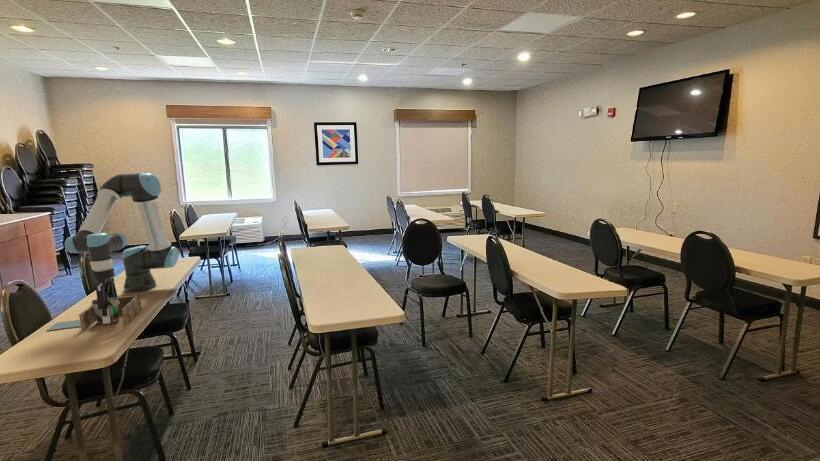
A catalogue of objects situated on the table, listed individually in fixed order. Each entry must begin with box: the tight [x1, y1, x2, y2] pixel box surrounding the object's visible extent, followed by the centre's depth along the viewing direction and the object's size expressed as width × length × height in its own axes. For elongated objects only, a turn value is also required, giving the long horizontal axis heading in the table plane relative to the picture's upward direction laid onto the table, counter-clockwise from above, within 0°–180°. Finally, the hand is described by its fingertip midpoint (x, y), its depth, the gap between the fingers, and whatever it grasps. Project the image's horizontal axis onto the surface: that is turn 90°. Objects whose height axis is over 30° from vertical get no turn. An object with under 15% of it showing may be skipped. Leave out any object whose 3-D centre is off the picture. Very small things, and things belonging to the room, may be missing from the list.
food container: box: [91, 297, 120, 325], centre depth 180 cm, size 12×6×10 cm, turn 74°
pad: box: [45, 319, 81, 332], centre depth 178 cm, size 9×14×1 cm, turn 108°
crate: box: [78, 294, 142, 331], centre depth 182 cm, size 20×16×7 cm
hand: (110, 319), depth 180 cm, fingers closed on food container, 8 cm apart
